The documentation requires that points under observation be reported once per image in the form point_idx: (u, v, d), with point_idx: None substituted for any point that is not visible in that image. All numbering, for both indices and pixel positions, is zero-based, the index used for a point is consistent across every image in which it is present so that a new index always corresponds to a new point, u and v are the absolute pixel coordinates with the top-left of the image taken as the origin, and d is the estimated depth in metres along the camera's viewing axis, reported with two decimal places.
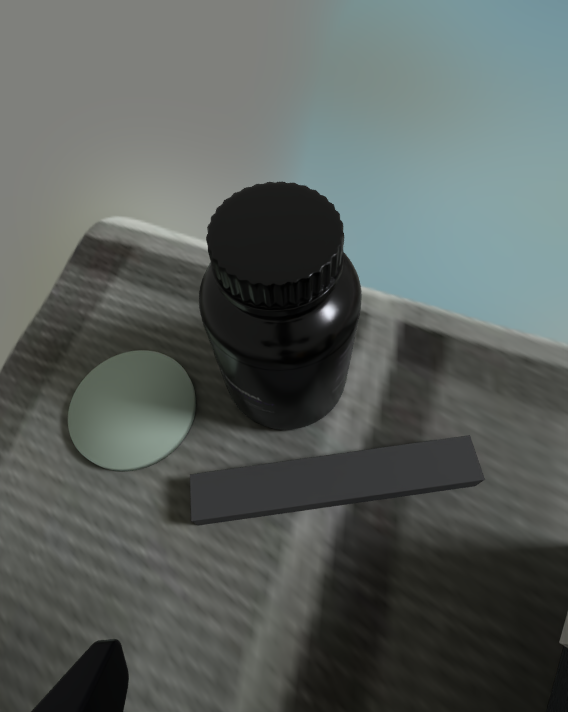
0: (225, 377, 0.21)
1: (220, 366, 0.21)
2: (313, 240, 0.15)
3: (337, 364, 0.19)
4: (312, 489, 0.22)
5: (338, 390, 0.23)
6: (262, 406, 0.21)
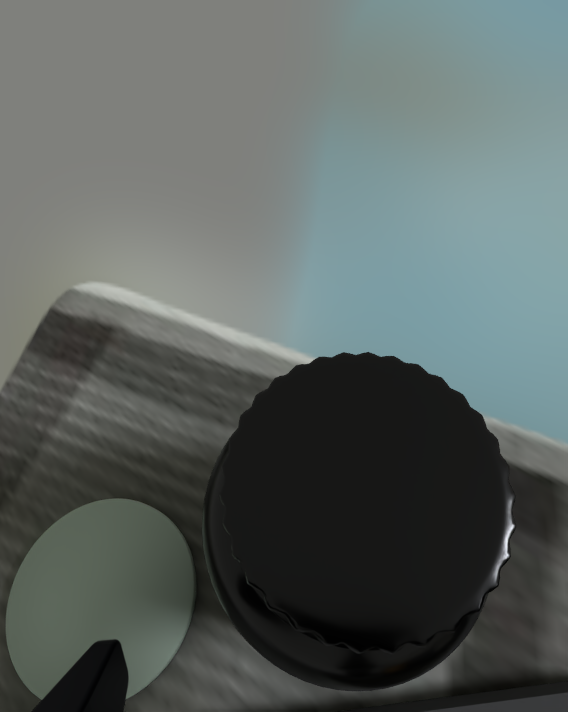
0: None
1: None
2: (453, 516, 0.07)
3: None
4: None
5: None
6: None
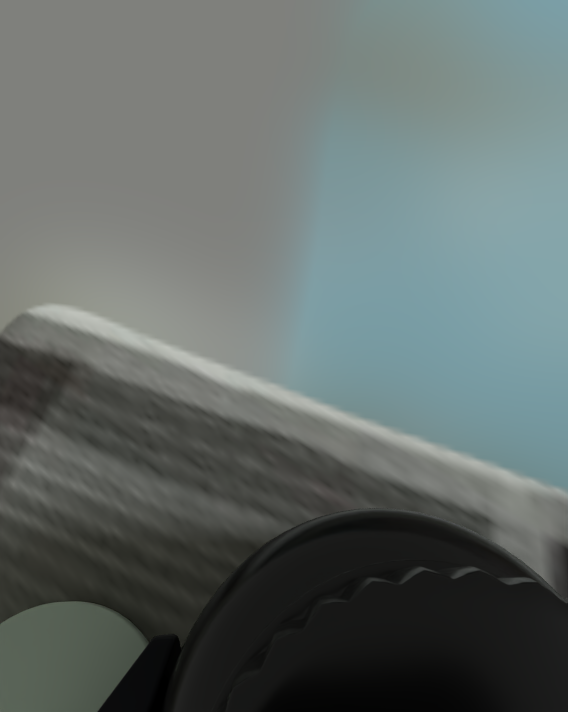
0: None
1: None
2: None
3: None
4: None
5: None
6: None
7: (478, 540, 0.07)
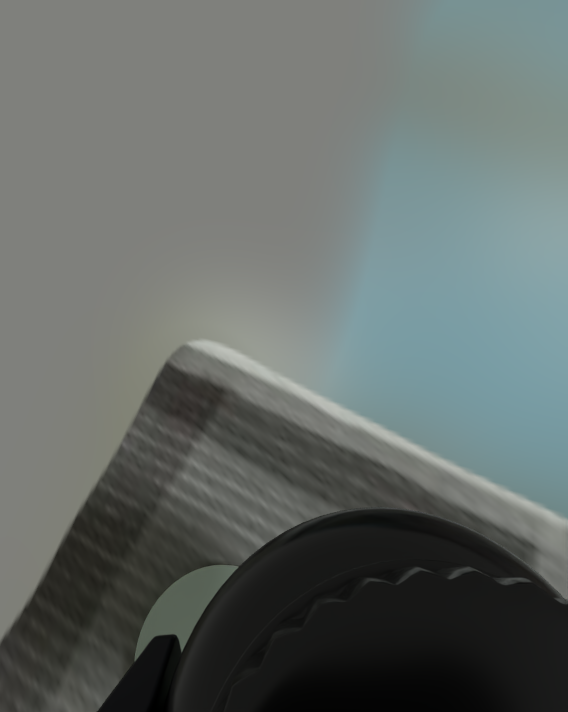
0: None
1: None
2: None
3: None
4: None
5: None
6: None
7: (478, 539, 0.07)
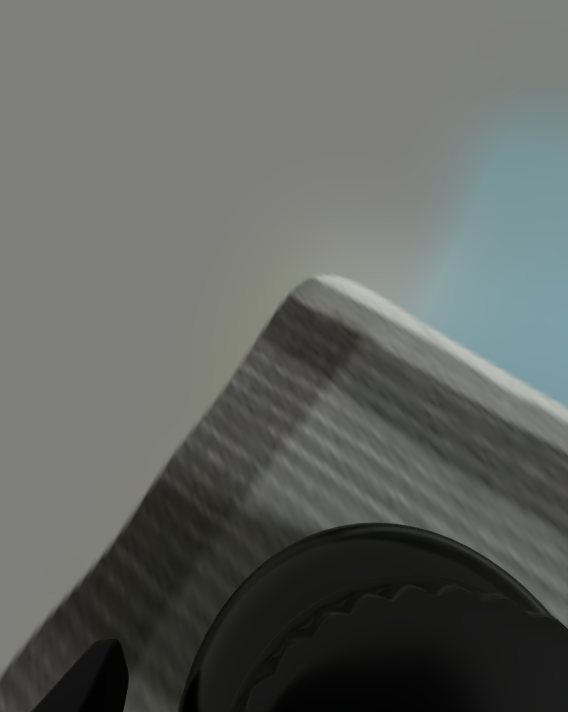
0: None
1: None
2: None
3: None
4: None
5: None
6: None
7: (467, 553, 0.07)
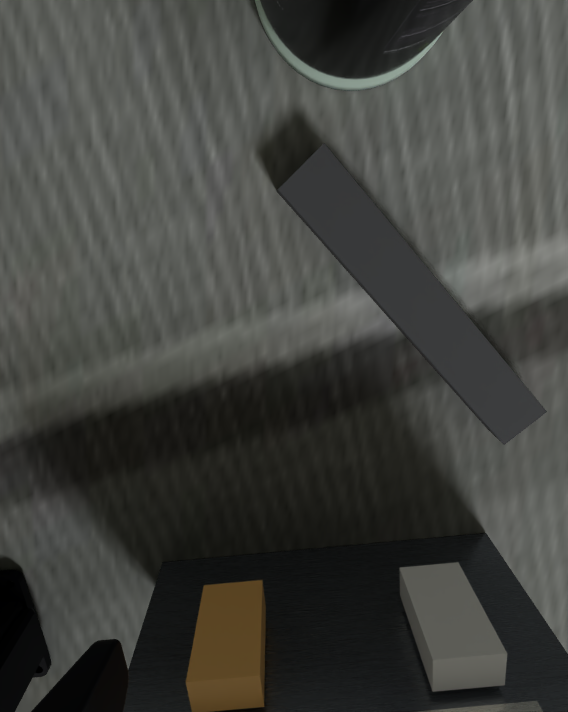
0: None
1: None
2: None
3: (418, 7, 0.10)
4: (395, 295, 0.17)
5: (395, 57, 0.13)
6: None
7: None
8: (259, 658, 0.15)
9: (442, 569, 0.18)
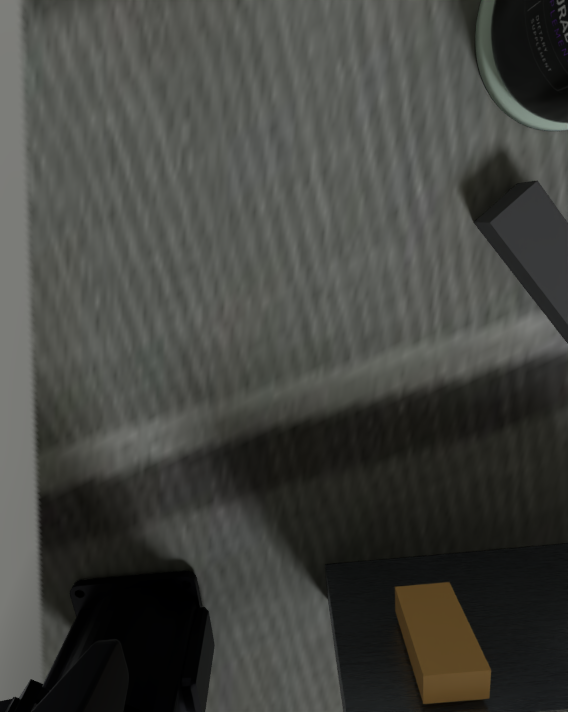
0: None
1: None
2: None
3: None
4: None
5: None
6: (548, 49, 0.13)
7: None
8: (482, 654, 0.17)
9: None
